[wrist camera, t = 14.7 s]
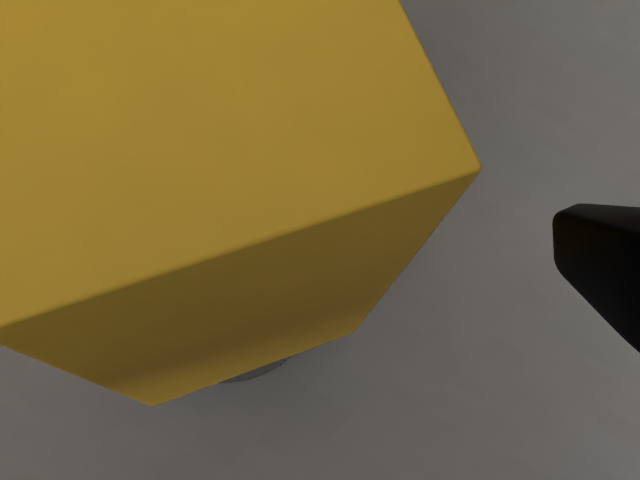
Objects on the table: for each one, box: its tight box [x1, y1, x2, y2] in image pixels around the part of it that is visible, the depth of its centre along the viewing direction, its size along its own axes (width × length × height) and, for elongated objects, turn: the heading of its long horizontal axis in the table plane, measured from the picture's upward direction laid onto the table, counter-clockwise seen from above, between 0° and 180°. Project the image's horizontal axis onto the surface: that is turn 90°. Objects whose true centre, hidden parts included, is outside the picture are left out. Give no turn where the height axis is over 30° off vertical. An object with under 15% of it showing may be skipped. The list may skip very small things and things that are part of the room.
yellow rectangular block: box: [0, 0, 482, 406], centre depth 11 cm, size 5×6×9 cm
